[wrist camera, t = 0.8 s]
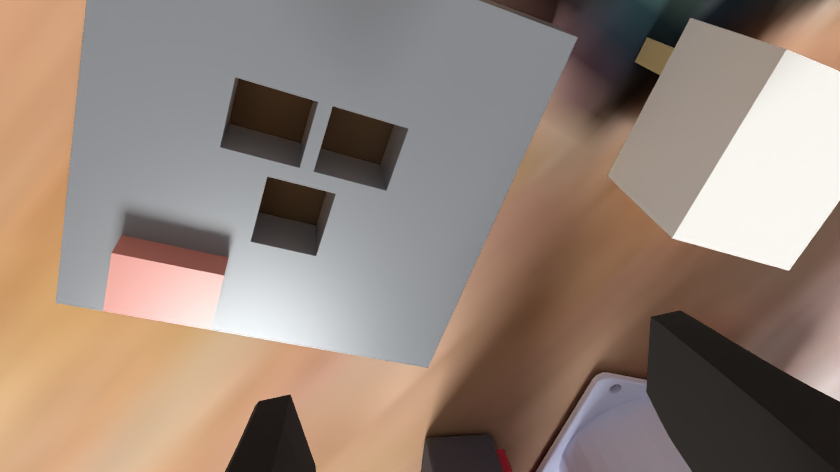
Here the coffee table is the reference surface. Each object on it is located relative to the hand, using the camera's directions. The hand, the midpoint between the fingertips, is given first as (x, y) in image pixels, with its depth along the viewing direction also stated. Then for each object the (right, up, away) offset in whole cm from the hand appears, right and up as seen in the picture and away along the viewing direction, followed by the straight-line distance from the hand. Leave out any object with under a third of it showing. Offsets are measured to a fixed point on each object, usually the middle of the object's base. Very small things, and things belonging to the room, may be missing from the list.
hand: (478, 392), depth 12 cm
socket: (-5, +6, +7) cm, 10 cm away
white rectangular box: (+7, +8, +8) cm, 13 cm away
